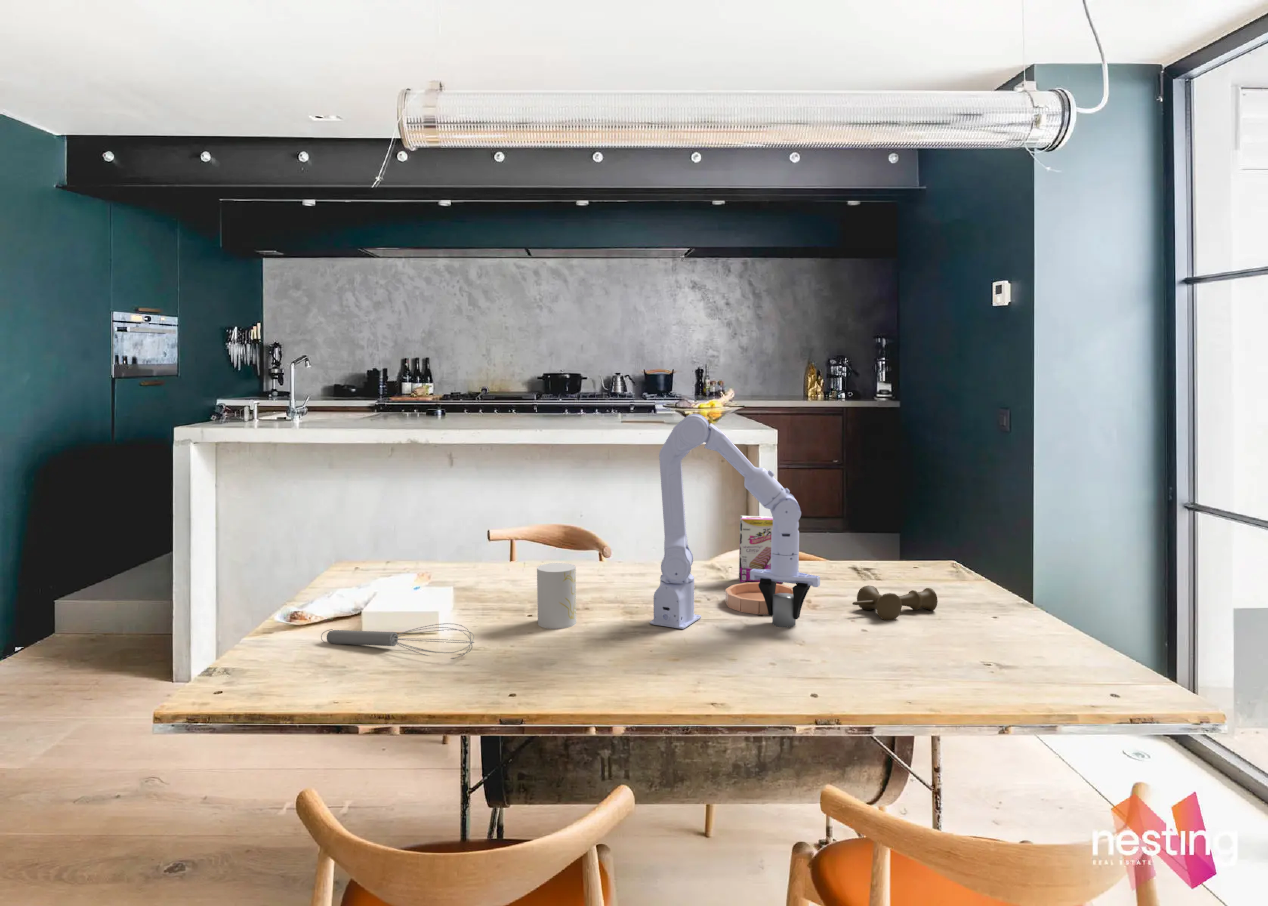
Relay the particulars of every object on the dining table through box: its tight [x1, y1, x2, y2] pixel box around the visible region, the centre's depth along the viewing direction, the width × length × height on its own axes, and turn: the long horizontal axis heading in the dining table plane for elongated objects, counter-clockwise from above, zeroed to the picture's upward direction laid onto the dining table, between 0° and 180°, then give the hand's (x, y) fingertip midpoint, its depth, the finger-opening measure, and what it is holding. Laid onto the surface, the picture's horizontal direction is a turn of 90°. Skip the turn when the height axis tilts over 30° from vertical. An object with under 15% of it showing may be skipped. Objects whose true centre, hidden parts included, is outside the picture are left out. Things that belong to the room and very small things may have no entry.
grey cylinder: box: [771, 593, 797, 628], centre depth 174 cm, size 5×5×6 cm
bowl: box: [724, 582, 793, 615], centre depth 189 cm, size 16×16×3 cm
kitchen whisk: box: [320, 622, 475, 660], centre depth 159 cm, size 6×34×6 cm, turn 72°
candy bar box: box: [738, 515, 784, 584], centre depth 209 cm, size 11×5×16 cm, turn 84°
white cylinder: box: [536, 562, 577, 630], centre depth 175 cm, size 8×8×12 cm
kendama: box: [852, 585, 939, 621], centre depth 182 cm, size 6×10×20 cm
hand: (784, 616), depth 174 cm, fingers closed on grey cylinder, 5 cm apart
